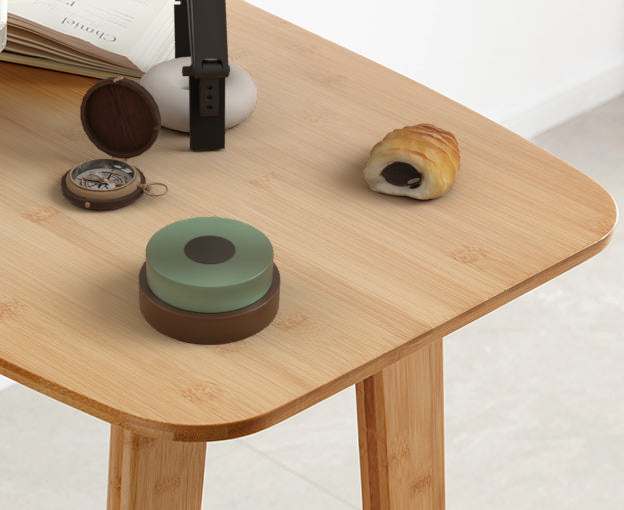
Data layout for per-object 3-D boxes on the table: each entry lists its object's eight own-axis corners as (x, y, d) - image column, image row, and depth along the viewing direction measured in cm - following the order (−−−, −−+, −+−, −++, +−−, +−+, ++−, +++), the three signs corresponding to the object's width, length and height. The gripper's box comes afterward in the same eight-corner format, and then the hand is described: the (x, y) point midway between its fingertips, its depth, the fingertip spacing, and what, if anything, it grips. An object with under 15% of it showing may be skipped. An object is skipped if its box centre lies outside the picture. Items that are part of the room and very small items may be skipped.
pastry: (395, 138, 93) (400, 96, 91) (475, 157, 91) (482, 114, 89) (356, 190, 86) (361, 145, 84) (442, 212, 84) (449, 167, 82)
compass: (47, 205, 82) (39, 113, 77) (89, 155, 88) (83, 67, 84) (153, 223, 80) (150, 131, 76) (188, 171, 87) (187, 83, 82)
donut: (242, 148, 90) (268, 93, 98) (243, 109, 88) (269, 56, 96) (121, 132, 92) (157, 79, 99) (119, 93, 89) (155, 42, 97)
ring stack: (135, 266, 76) (133, 215, 74) (268, 259, 78) (270, 208, 75) (144, 349, 69) (142, 295, 67) (290, 339, 71) (292, 286, 68)
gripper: (273, -110, 73) (265, 181, 86) (227, -199, 92) (225, 49, 105) (157, -110, 72) (165, 185, 84) (134, -200, 91) (143, 51, 104)
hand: (198, 110), depth 95 cm, fingers open, 12 cm apart
